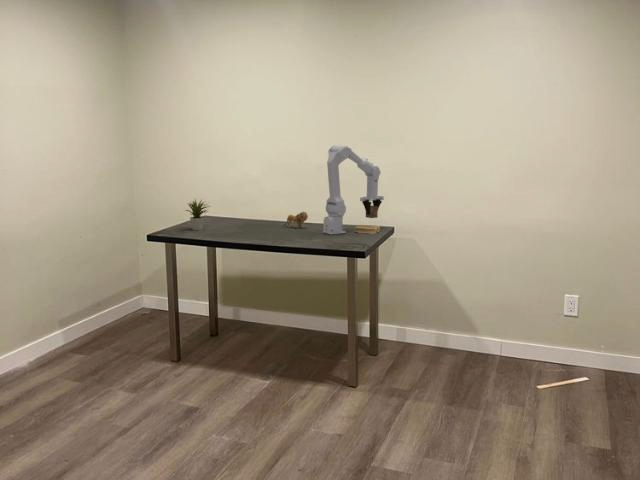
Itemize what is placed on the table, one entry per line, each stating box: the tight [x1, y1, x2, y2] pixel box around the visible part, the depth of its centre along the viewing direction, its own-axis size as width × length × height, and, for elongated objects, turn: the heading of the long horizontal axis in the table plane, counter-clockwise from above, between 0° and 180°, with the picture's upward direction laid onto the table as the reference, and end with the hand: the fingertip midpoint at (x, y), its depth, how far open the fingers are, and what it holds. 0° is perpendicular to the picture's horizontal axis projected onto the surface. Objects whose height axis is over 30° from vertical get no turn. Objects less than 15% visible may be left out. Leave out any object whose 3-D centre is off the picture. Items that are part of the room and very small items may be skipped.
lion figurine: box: [283, 211, 309, 230], centre depth 321 cm, size 15×5×9 cm, turn 63°
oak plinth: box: [353, 224, 381, 235], centre depth 310 cm, size 11×11×3 cm
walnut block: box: [365, 205, 379, 219], centre depth 320 cm, size 4×4×6 cm
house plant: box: [184, 198, 211, 231], centre depth 312 cm, size 14×14×16 cm
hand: (371, 214), depth 320 cm, fingers closed on walnut block, 4 cm apart
